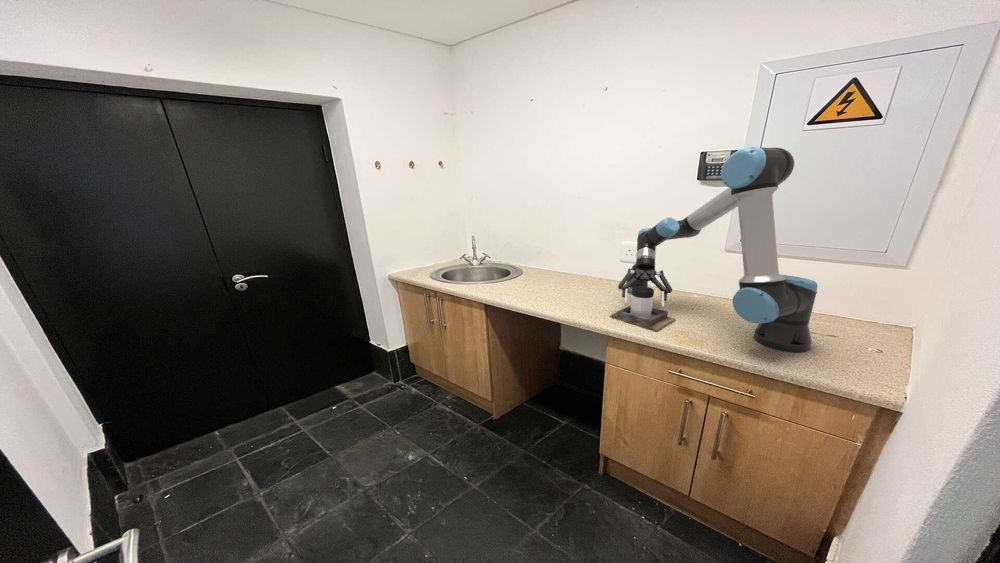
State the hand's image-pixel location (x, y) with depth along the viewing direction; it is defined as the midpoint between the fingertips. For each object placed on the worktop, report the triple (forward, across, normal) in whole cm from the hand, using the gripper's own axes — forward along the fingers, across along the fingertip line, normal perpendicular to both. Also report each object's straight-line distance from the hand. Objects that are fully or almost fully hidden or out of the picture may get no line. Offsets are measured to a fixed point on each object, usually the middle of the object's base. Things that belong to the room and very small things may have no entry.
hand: (643, 305), depth 133 cm
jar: (+2, +1, -6) cm, 6 cm away
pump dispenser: (-23, +2, -33) cm, 40 cm away
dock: (+3, 0, -6) cm, 7 cm away
